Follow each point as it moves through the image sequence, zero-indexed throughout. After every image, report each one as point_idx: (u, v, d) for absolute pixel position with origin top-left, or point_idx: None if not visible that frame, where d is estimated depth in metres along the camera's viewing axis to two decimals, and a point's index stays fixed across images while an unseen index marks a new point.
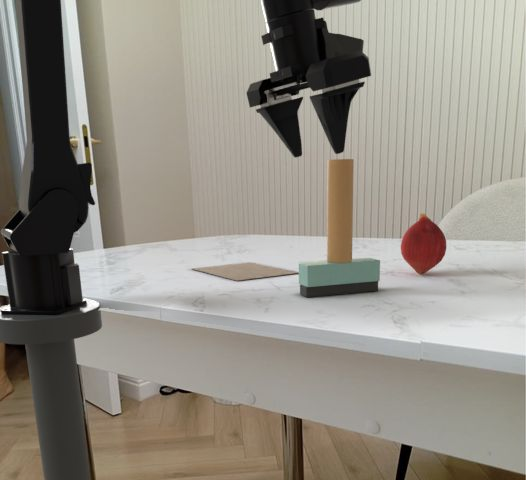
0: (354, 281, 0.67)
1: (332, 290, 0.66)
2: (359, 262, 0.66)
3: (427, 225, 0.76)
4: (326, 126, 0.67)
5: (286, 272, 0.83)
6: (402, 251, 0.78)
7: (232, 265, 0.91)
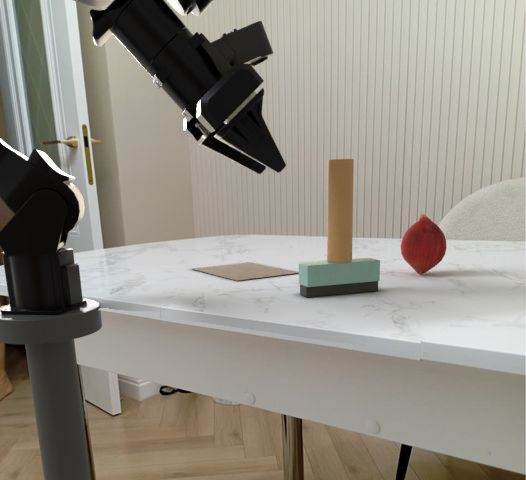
0: (354, 281, 0.67)
1: (332, 290, 0.66)
2: (359, 262, 0.66)
3: (427, 225, 0.76)
4: (248, 155, 0.57)
5: (286, 272, 0.83)
6: (402, 251, 0.78)
7: (232, 265, 0.91)
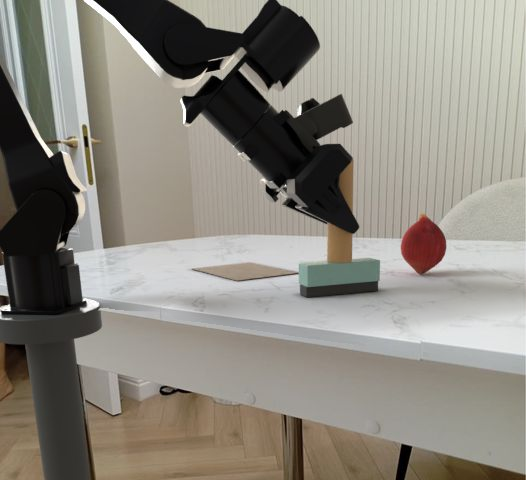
0: (354, 281, 0.67)
1: (332, 290, 0.66)
2: (359, 262, 0.66)
3: (427, 225, 0.76)
4: (326, 221, 0.63)
5: (286, 272, 0.83)
6: (402, 251, 0.78)
7: (232, 265, 0.91)
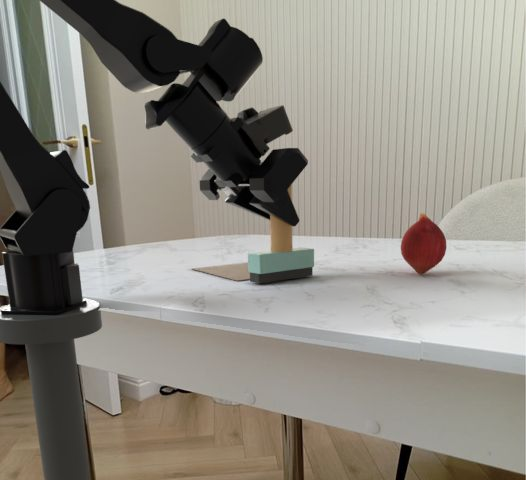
0: (295, 267, 0.77)
1: (278, 276, 0.76)
2: (298, 251, 0.77)
3: (427, 225, 0.76)
4: (275, 216, 0.72)
5: None
6: (402, 251, 0.78)
7: (232, 265, 0.91)
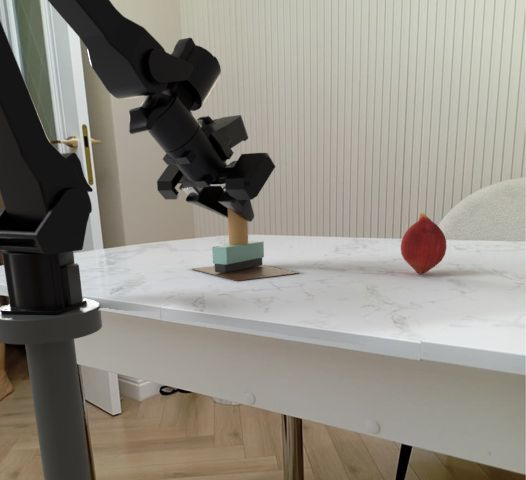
0: (251, 258, 0.87)
1: (239, 266, 0.85)
2: (253, 243, 0.87)
3: (427, 225, 0.76)
4: (238, 212, 0.82)
5: (286, 272, 0.83)
6: (402, 251, 0.78)
7: None
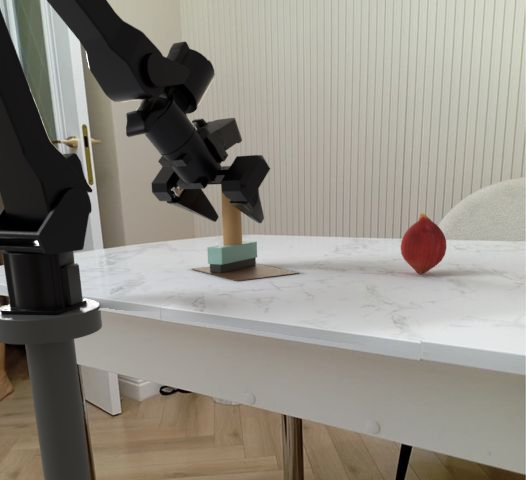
0: (245, 258, 0.88)
1: (233, 266, 0.86)
2: (246, 243, 0.88)
3: (427, 225, 0.76)
4: (249, 214, 0.81)
5: (286, 272, 0.83)
6: (402, 251, 0.78)
7: None
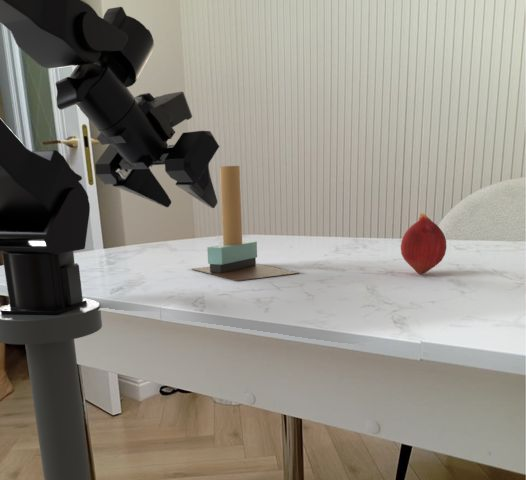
0: (245, 258, 0.88)
1: (233, 266, 0.86)
2: (246, 243, 0.88)
3: (427, 225, 0.76)
4: (198, 197, 0.73)
5: (286, 272, 0.83)
6: (402, 251, 0.78)
7: None
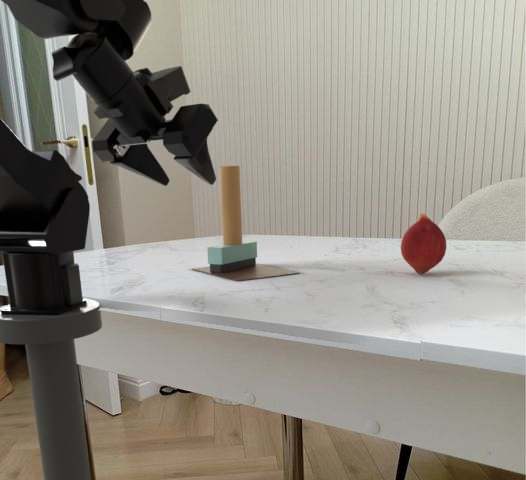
0: (245, 258, 0.88)
1: (233, 266, 0.86)
2: (246, 243, 0.88)
3: (427, 225, 0.76)
4: (197, 173, 0.73)
5: (286, 272, 0.83)
6: (402, 251, 0.78)
7: None
